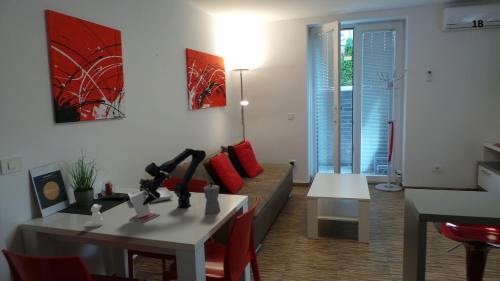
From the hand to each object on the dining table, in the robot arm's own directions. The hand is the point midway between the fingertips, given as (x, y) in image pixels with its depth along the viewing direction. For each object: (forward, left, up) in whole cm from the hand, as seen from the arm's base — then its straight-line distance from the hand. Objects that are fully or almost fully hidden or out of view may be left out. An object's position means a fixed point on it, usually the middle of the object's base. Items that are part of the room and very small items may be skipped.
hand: (140, 203), depth 201 cm
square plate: (+24, -34, -10) cm, 43 cm away
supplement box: (-1, -1, -7) cm, 7 cm away
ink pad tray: (-1, -1, -9) cm, 9 cm away
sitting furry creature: (+17, +17, -9) cm, 25 cm away
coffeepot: (-33, -24, -9) cm, 42 cm away
